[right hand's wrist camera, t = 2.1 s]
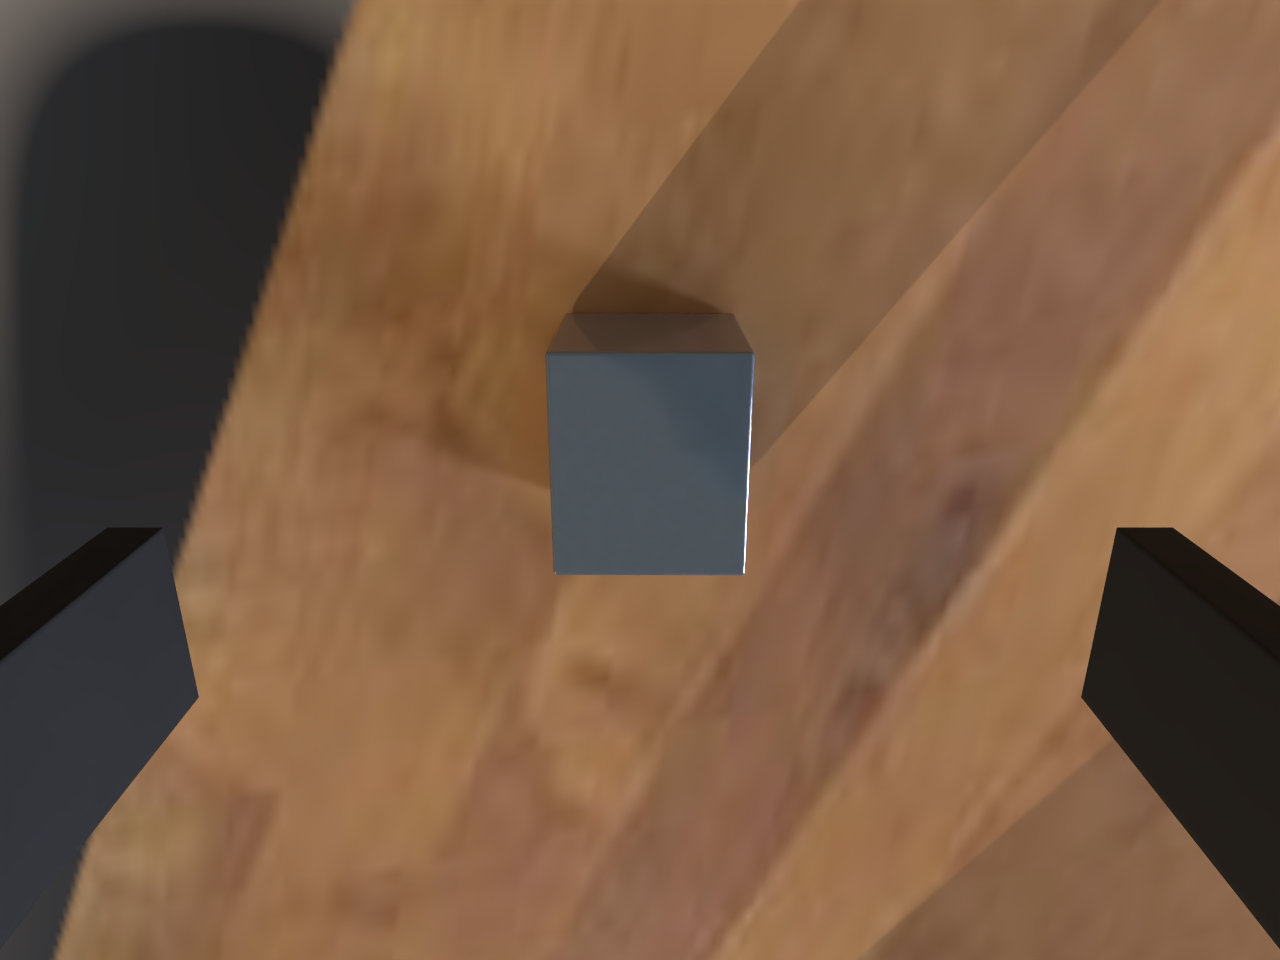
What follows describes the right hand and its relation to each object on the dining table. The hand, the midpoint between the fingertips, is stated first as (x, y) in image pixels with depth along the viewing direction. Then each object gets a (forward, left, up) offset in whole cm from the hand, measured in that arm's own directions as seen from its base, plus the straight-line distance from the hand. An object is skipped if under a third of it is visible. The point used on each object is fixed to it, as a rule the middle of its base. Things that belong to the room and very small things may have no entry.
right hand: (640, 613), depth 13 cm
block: (0, 0, -12) cm, 12 cm away
